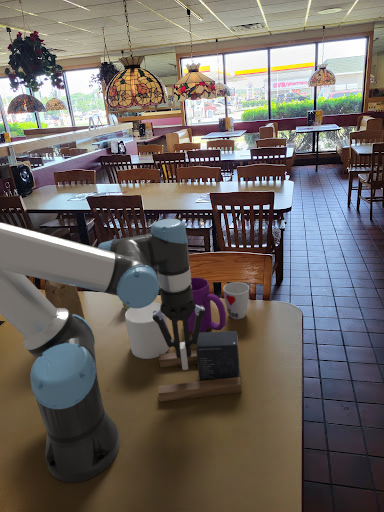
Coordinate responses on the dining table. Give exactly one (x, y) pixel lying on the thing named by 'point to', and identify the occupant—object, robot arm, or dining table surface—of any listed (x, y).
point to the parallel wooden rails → (194, 387)
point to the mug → (205, 306)
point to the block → (64, 297)
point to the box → (217, 355)
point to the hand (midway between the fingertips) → (185, 366)
